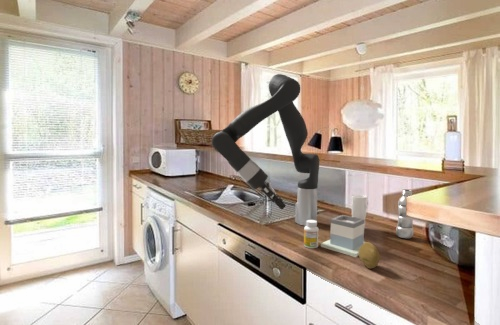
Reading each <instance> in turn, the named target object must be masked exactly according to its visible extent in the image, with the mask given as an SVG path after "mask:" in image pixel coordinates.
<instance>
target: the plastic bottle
mask: <svg viewBox="0 0 500 325" xmlns="http://www.w3.org/2000/svg"><path fill="white" fill-rule="evenodd" d="M410 195H411V196H412V195H413V190H412V189H402V190H401V197H399V199H398V201H397V208H398V213H397V214H398V219H397V225H396V228H395V235H396V236H397V237H398V238H401V239H407V240H408V239H411V238H413V236H414V223H413V220H414V219H413V218H414V217H413V218H410V217H407V216H406V197H408V196H410Z"/></svg>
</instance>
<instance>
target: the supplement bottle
mask: <svg viewBox="0 0 500 325" xmlns="http://www.w3.org/2000/svg"><path fill="white" fill-rule="evenodd" d="M306 225H307V226H304V228H303V246H304V247H305V248H308V249H317V248H318V247H319V232H320V231H319V230H320V229H319V227H318V226H317V225H318V220H317V221H315V220H307V221H306Z"/></svg>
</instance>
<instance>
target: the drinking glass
mask: <svg viewBox="0 0 500 325" xmlns="http://www.w3.org/2000/svg"><path fill="white" fill-rule="evenodd" d="M350 200H351V203H350V204H351V206H350V208H351V217H356V218H361V219H365V221H364V228H365V227H366V218H367V217H366V216H367V210H368V196H367V195H363V194H352V195H351V198H350Z"/></svg>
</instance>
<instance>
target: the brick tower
mask: <svg viewBox="0 0 500 325" xmlns="http://www.w3.org/2000/svg"><path fill="white" fill-rule="evenodd" d="M364 221H365V222H366V218H365V219H361V218H356V217H352V215H350V216H349V215H346V214H341V215H338V216H336V217H333V218H330V232H329V233H330V234H329V238H330V239H328V240H325V241H324V242H321V243H320V248H323V249H328V250H330V251H334V252H336V253H337V252H338V253H341V254H344V255H347V256H351V257H353V258H357V257H359V250H360V247H361V246H362V245H363V244H364V243H365V242H366V241H365V239H364V236H365V227H364Z"/></svg>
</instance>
